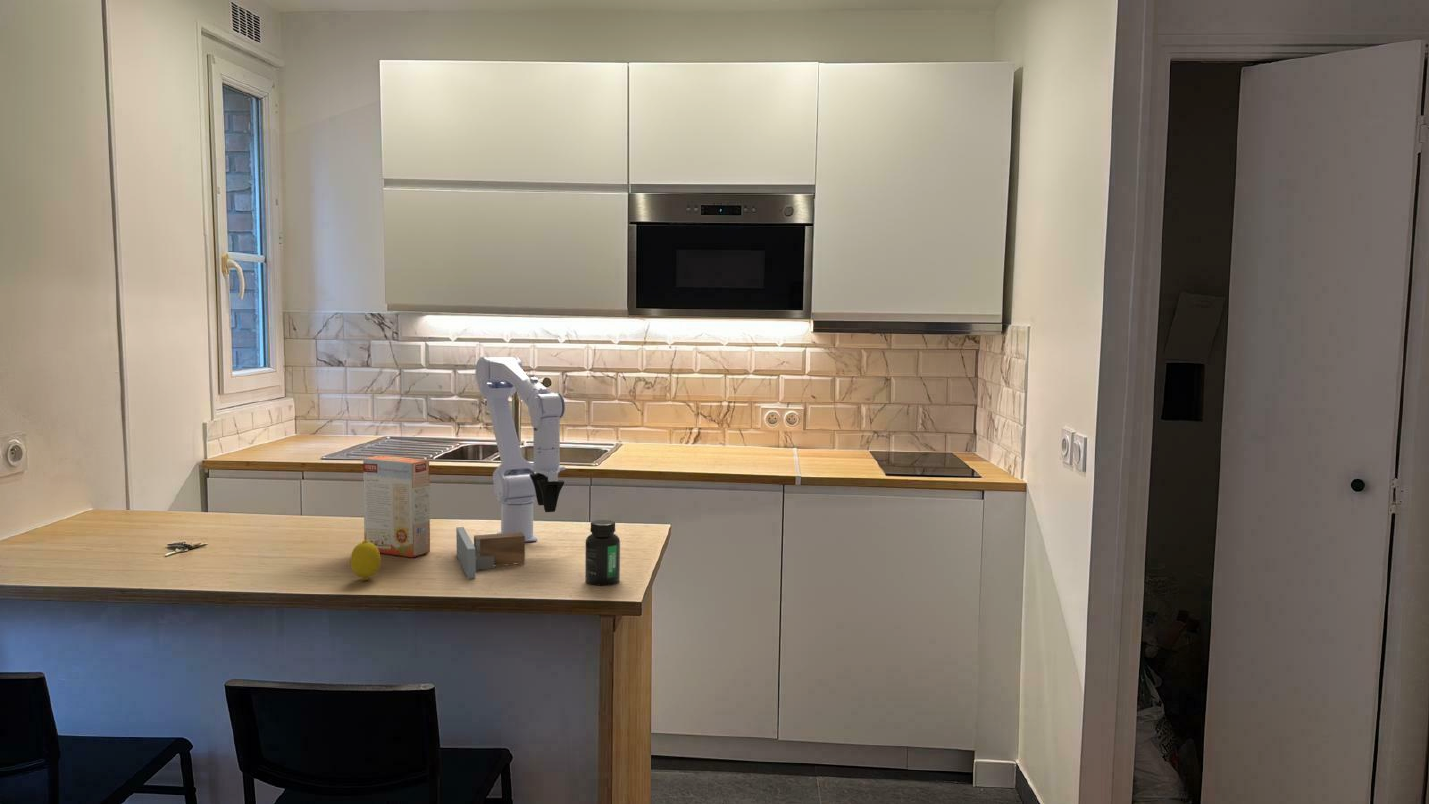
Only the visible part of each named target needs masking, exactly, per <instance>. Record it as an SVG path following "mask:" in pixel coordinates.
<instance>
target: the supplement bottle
mask: <svg viewBox="0 0 1429 804" xmlns="http://www.w3.org/2000/svg"><path fill="white" fill-rule="evenodd" d="M589 532H590V533H591V534H590V535H588V536H587V537H586V539H585V547H584V548H585V552H584V553H585V559H584V560H585V561H584V562H585V564H584V566H585V569H584V570H585V571H584V574H585V581H586V583H587V584H589V585H592V586H597V585H598V586H600V587H601V586H602V587H604V586H606V587H607V586H611V585H615V584H617V583H618V582H619V581H620V578H621V577H620V576H621V575H620V574H621V540H620V537H619V536H618V535H617V534H616V533H615V532H616V522H615V521H614V520H610V519H597V520H596V519H595V520H592V521H591V522H590V528H589Z"/></svg>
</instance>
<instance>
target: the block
mask: <svg viewBox="0 0 1429 804" xmlns="http://www.w3.org/2000/svg"><path fill="white" fill-rule="evenodd" d="M473 545H474V547H475V553H476V556H488V555H493V556H494V565H497V566H506V565H505V564H509V565H515V564H514V563H522V564H525V563H524V562H525V561H526V558H525V556H526V555H525V554H526V552H525V550H526V548H525V547H526V542H525V536H524V534H523V533H522V532H517V533H502V534H497V533H493V534H492V533H490V534H488V533H487V534H475V535H473Z"/></svg>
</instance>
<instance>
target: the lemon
mask: <svg viewBox="0 0 1429 804" xmlns="http://www.w3.org/2000/svg"><path fill="white" fill-rule="evenodd" d="M350 567H351V570H352V572H353V573H354V574H355V575H356V576H357V577H359V578H362V579H363V580H364V581H368V580H369V579H370V578H371V577H372V576H373V577H374V575H375V574H377V572H378V571H379V570H380V567H381V553H379V550H378V548H377V547H376V546H375V545H374V544H373V543H370V542H368V541H367V540H364V539H363V541H362V542H360V543H358V544H357V545H356V546H354V548H353V549H352V552H351V556H350Z"/></svg>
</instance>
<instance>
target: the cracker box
mask: <svg viewBox="0 0 1429 804" xmlns="http://www.w3.org/2000/svg"><path fill="white" fill-rule="evenodd" d="M362 462H363V463H362V466H363V470H362V471H363V474H362V475H363V477H362V478H363V525H364V526H363V528H364V529H363V533H364V534H363V535H364V537H363V541H364V540H367V541H368V542H370V543H373V544H374V545H375V546H376V547H377V548H378V550H379V553H380V554H386V555H387V554H388V555H394V556H401V557H405V558H416V557H419V556H422V555H425V554H428V553H430V552H431V539H430V538H431V537H430V536H431V528H430V526H431V525H430V524H431V523H430V522H431V521H430V520H431V518H430V516H431V513H430V512H431V511H430V510H431V509H430V508H431V507H430V459H422V458H412V457H402V456H392V455H373V456H371V457H364V458H363V459H362Z"/></svg>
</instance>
